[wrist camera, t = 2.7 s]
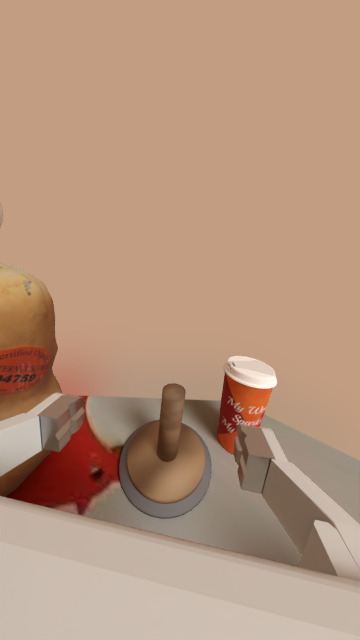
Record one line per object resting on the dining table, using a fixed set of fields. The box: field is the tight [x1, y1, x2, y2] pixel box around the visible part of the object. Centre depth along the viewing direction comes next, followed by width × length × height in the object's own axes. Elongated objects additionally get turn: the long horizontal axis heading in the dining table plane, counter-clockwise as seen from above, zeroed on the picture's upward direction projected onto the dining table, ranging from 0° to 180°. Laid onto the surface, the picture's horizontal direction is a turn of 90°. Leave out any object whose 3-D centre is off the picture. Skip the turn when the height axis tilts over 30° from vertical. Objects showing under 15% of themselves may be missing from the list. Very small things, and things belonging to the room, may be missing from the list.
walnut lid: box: [127, 384, 205, 504], centre depth 23 cm, size 11×11×11 cm
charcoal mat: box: [119, 420, 212, 518], centre depth 25 cm, size 13×13×1 cm
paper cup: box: [218, 356, 277, 455], centre depth 27 cm, size 8×8×14 cm
